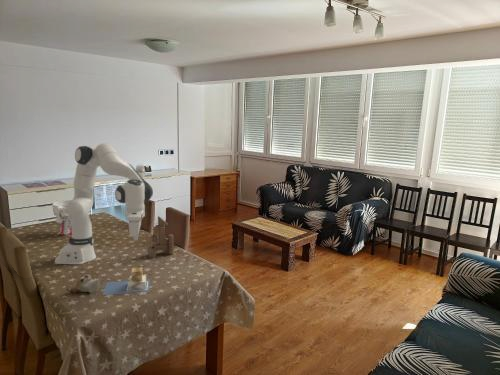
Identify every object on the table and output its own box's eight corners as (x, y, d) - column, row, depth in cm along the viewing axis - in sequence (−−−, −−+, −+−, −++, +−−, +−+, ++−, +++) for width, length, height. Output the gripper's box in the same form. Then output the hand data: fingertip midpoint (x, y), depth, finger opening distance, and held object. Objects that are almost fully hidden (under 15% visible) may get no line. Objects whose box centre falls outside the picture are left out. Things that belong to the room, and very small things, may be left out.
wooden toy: (150, 258, 222) (149, 219, 217) (147, 254, 228) (146, 217, 223) (174, 254, 230) (174, 216, 226) (170, 251, 236) (170, 214, 231)
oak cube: (131, 281, 180) (131, 272, 179) (132, 277, 184) (132, 267, 183) (142, 280, 181) (141, 271, 180) (142, 276, 186) (142, 267, 185)
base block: (128, 290, 178) (128, 282, 178) (130, 283, 186) (130, 276, 185) (145, 289, 180) (145, 281, 180) (146, 282, 188) (146, 275, 187)
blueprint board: (102, 297, 173) (102, 294, 173) (106, 284, 186) (106, 282, 186) (149, 293, 178) (149, 291, 178) (150, 281, 191) (150, 279, 191)
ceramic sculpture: (91, 281, 170) (64, 278, 173) (92, 298, 171) (65, 295, 175) (104, 272, 180) (78, 270, 184) (106, 288, 182) (80, 286, 185)
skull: (51, 231, 266) (49, 201, 261) (78, 227, 277) (77, 199, 273) (57, 241, 246) (55, 209, 242) (87, 236, 258) (85, 205, 253)
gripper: (130, 207, 185) (131, 233, 187) (126, 218, 165) (127, 246, 168) (143, 207, 186) (143, 233, 189) (140, 218, 167) (141, 246, 169)
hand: (135, 239), depth 178 cm, fingers closed
